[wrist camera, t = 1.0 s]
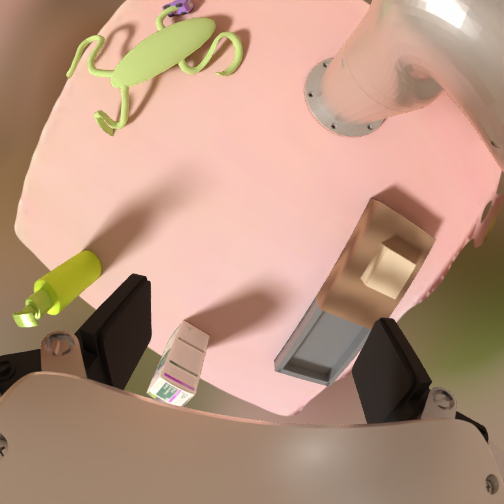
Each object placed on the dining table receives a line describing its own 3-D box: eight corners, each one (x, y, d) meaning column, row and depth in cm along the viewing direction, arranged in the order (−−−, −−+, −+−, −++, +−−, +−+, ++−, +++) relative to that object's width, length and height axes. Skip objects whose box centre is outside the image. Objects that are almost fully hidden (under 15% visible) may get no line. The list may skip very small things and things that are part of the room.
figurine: (76, 64, 31) (58, 57, 26) (211, -11, 27) (205, -28, 21) (100, 145, 36) (80, 145, 31) (253, 69, 32) (251, 56, 27)
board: (370, 197, 37) (381, 202, 33) (423, 232, 38) (436, 239, 35) (315, 297, 43) (320, 309, 39) (370, 319, 44) (378, 332, 40)
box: (315, 297, 43) (319, 306, 40) (370, 319, 44) (376, 329, 41) (274, 360, 48) (274, 371, 45) (327, 376, 49) (329, 386, 46)
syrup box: (183, 318, 45) (157, 375, 32) (211, 335, 46) (195, 396, 33) (169, 338, 47) (144, 393, 33) (196, 354, 48) (178, 412, 34)
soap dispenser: (110, 277, 43) (43, 340, 25) (84, 281, 44) (19, 339, 25) (99, 246, 42) (22, 299, 23) (73, 253, 42) (0, 302, 23)
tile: (380, 242, 35) (387, 248, 33) (408, 259, 36) (416, 265, 34) (360, 278, 37) (365, 285, 35) (389, 292, 38) (395, 299, 36)
